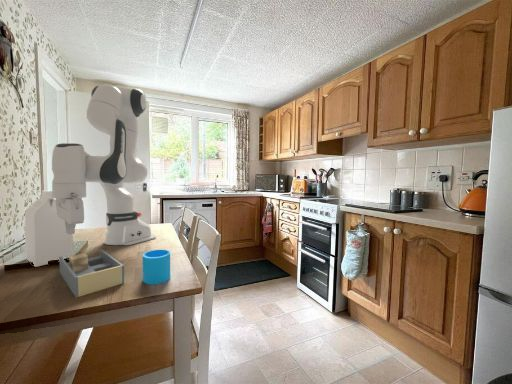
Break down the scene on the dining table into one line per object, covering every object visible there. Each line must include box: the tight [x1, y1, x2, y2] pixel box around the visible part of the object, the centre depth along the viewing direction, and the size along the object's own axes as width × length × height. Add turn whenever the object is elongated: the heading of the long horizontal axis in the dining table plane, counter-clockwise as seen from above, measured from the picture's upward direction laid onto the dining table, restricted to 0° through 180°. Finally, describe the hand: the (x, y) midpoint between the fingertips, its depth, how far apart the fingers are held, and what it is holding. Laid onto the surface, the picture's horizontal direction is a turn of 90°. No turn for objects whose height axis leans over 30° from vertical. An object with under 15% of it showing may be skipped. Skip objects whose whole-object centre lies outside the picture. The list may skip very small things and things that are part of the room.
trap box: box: [58, 248, 125, 298], centre depth 75 cm, size 12×22×6 cm, turn 48°
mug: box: [142, 249, 171, 285], centre depth 77 cm, size 12×8×8 cm
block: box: [68, 252, 89, 272], centre depth 75 cm, size 4×4×4 cm
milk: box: [24, 189, 75, 268], centre depth 90 cm, size 12×12×26 cm
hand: (70, 233), depth 79 cm, fingers closed
